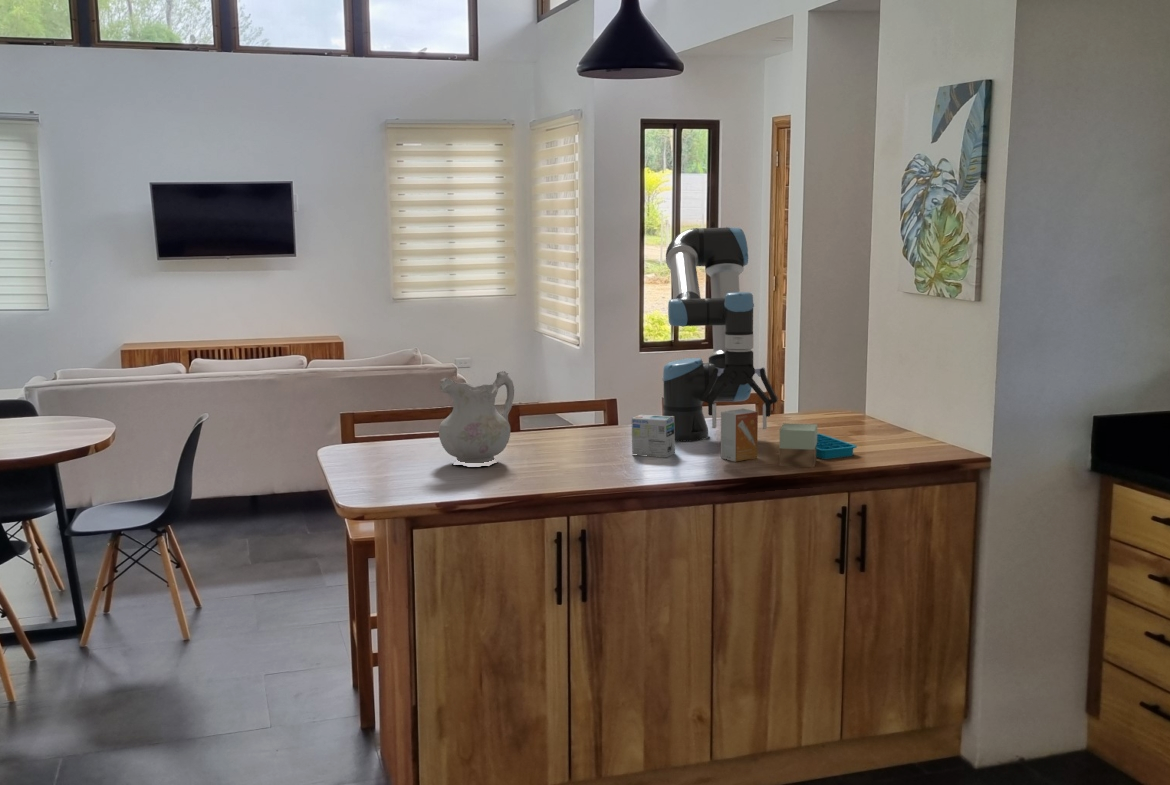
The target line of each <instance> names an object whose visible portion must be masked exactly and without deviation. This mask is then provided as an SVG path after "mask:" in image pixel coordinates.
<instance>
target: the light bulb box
mask: <svg viewBox="0 0 1170 785" xmlns="http://www.w3.org/2000/svg"><path fill="white" fill-rule="evenodd" d="M631 452H632V453H631V455H632V454H637V455H647V456H646V457H649V456H657V457H656V458H663V457H667V458H669V457H671V456H673V455H674V454H675V453H676V441H675V425H674V416H662V415H656V414H653V415H652V414H638V415H636V416H634V417H631Z"/></svg>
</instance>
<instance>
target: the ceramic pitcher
mask: <svg viewBox="0 0 1170 785" xmlns="http://www.w3.org/2000/svg"><path fill="white" fill-rule="evenodd" d="M508 374H509V373H507V371H506V370H505V371H498V372H497V373H496V377H495V378H496V379H495V380H494V382H492V384H489V383H488V384H481V385H477V386H474V385H471V384H469V383H467V382H464V381H463V382H455V381H454V380H452V379H450V378H447V377H444V378H442V379H440V384H439V390H440V392H442V393H445V394H447V395H448V396H449V397H450V398H451V400H452V405H453V407H452V412H450V413H449V415H448V416H447V417H445V418H444V419H443V420H442V421H441V423H440V424H439V427H438V437H439V441H440V445H441V446H442V448H443V449H444V450H445V452H446V453H447V454H449V455H450V456H452V457H454V458H456V459H457V460H458V461H460V462H465V463H484V462H489V461H492V460H494V459H495V456H498V455H499V454H501V453H502V452H504V450H505V448H506V447H507V445H508V444H509V441H510V438H511V437H510V436H511V425H510V423H509V413H510V411H511V409H512V407H513V401H514V398H515V386H514V382H513V380H512V378H511V377H510V376H509V375H508ZM503 386H505V387H506V399H505V402H504V404H503V405H504V406H503V408H502V409H503V410H502V414H500V413H499V412H498V410H497V409H496V406H495V405H496V404H495V403H496V397H497V394H498V392H499V389H500V388H501V387H503Z"/></svg>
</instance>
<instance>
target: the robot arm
mask: <svg viewBox="0 0 1170 785" xmlns="http://www.w3.org/2000/svg"><path fill="white" fill-rule="evenodd" d="M665 262H666V266H667V267H668V269H669V270H670V277H671V285H672V294H673V298H671V299H669V301H668V304H667V306H668V307H667V310H668V311H667V314H668V315H667V317H668V324H669V325H670V326H672V327H681V328H682V327H683V328H684V327H698V326H704V327H705V326H708V327H709V326H712V345H713V346H712V347H713V351H712V353H710V356H708V362H705V363H703V362H704V361H703V360H702V358H699V357H694V358H693V357H689V358H682V359H677V360H673V361H670V362H667V363H666V364H665V365H664V366H663V372H662V373H663V374H662V381H663V411H662V412H663V413H662V415H661V416H674V425H675V442H694V441H695V442H696V441H702V440H703V441H704V440H705V439H708V438H709V427H708V425H707V421H706V418H705V416H704V412H703V403H706V404H707V406H708V408H707V413H708V416H711V417H712V420H711V421H712V423H711V425H712V426H711V428H712V429H716V428H717V423H718V422H717V403H722V402H723V403H724V402H725V403H727V402H732V403H735V402H745V401H747V400H748V399H749V398H750V397H751V394H752V393H751V392H752V390H753V391H754V392H755V393H756V395H758V397H759V398H760V399H761V400H762V402H763V404H762V430H767V428H768V427H767V423H768V422H767V420H768V419H767V418H768V417H771V415H772V414H771V411H772V409H771V408H772V407H771V406H772V404H776V403H777V402H778V397H777V395H776V393H775V391H774V389H773V387H772V385H771V383H770V381H769V379H768V377H767V373H766V372H767V371H766V368H765V367H761V368H755V366H754V351H753V349H754V307H755V303H754V295H753V293H751V292H750V291H749V292H748V291H747V292H746V291H740V275H741V274H742V273H743V272H744V267H745V266H747V265H748V263H749V247H748V241H747V238H746V234H745V232H744V231H743V229H741V228H740V227H729V226H726V227H701V228H699V227H693V228H689V229H686V230H684V231H682V232H680V233H679V234H677V235H676V236H675V237H674V238H673V239H672V240H671V242H670V243H669V244H668V247H667V248H666V252H665ZM697 267H704V272H705V273H706V275H707V276H709V277H710V292H711V297H710V298H709V297H708V298H707V297H706V298H701V297H702V296H701V291H700V287H699V286H700V285H699V279H698V271H697ZM755 374H757V377H760V379H761V381H762V384H763V386H764V388H765V389H766V392H767V393H768V395H769V397H770V398H769V397H768V395H767V394H766V393H765V392H764V391H763V390H762V388H761V387H760V386H759V385H758V384H757V383H756V381H755V380H754V376H755Z"/></svg>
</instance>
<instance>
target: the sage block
mask: <svg viewBox="0 0 1170 785" xmlns="http://www.w3.org/2000/svg"><path fill="white" fill-rule="evenodd" d="M817 434H818V424H815V423H814V424H813V423H787V422H786V423H784V422H783V423H782V424H781V427H780V428H779V445H778V446H779V447H778V448H783V449H810V450H814V449H815V447H816V444H817Z"/></svg>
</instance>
